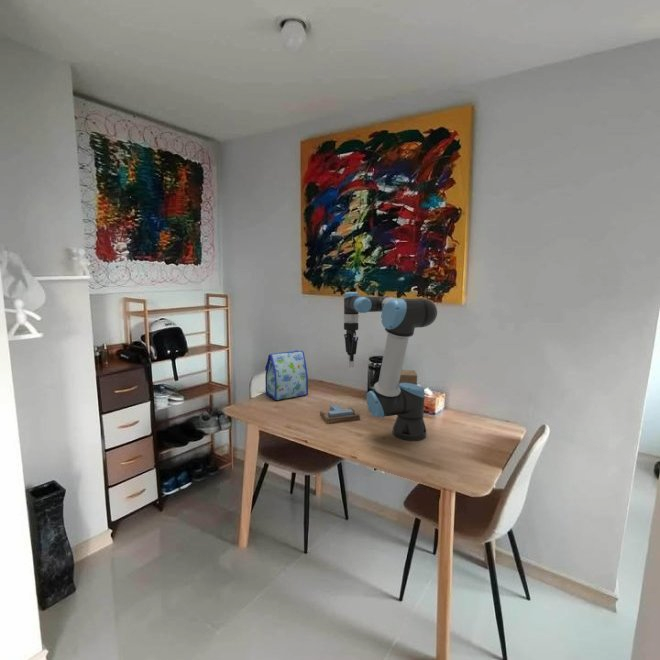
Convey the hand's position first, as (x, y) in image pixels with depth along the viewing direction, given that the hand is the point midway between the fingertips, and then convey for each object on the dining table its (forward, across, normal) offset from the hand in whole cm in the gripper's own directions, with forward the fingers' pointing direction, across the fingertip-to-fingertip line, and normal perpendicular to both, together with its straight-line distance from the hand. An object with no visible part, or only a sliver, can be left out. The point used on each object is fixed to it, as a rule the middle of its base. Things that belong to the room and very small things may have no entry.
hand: (350, 366), depth 203 cm
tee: (+24, -4, +9) cm, 26 cm away
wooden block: (+24, -6, -30) cm, 39 cm away
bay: (+24, -7, +9) cm, 26 cm away
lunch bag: (+23, +35, +26) cm, 49 cm away
